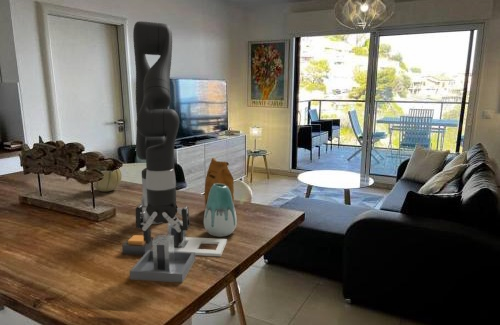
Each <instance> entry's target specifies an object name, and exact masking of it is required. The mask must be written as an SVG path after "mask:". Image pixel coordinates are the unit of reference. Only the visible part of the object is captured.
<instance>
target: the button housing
mask: <svg viewBox="0 0 500 325" xmlns="http://www.w3.org/2000/svg"><path fill="white" fill-rule="evenodd" d="M133 236H134V235H132V236H131V237H133ZM128 240H129V239H127V240H126V241H125V242H124V243H123V244H122V245H121V246H122V248H121V250H122V255H131V256H133V255H134V256H143V255H144V254H145V253H146V252H147V251H148V250H152V249H153V243H152V241H153V240H154V237H152V236H151V242H150V243H149V244H146V243H145V244H144V245H131V244H128Z"/></svg>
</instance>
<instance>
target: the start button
mask: <svg viewBox="0 0 500 325" xmlns="http://www.w3.org/2000/svg"><path fill="white" fill-rule="evenodd" d="M132 236H133V237H132ZM132 236H131V237H130V238H128V239H127V240H128V244H131V245H144V244H145V243H146V241H144V237H143V234H140V235H139V234H138V235H137V234H134V235H132Z"/></svg>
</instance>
